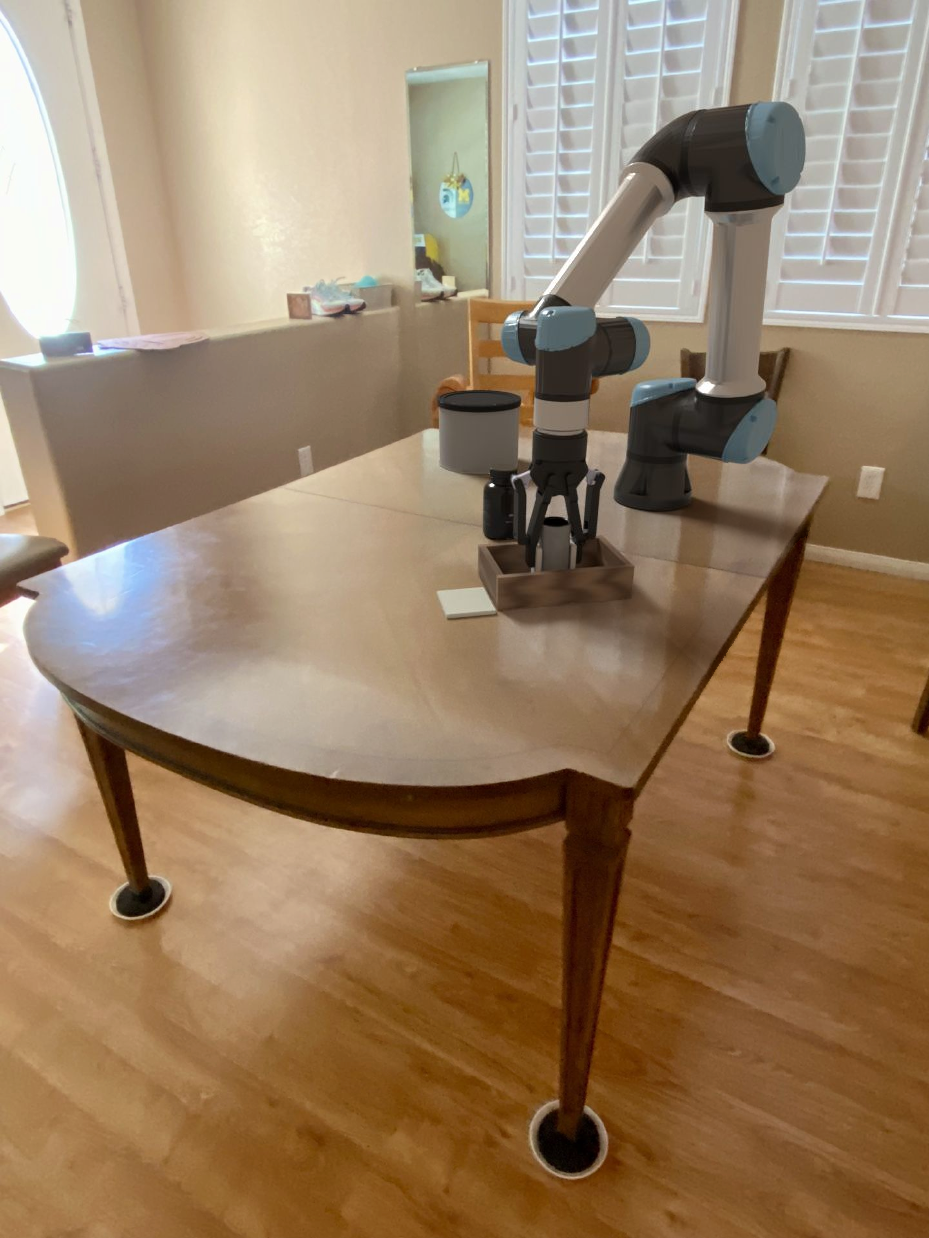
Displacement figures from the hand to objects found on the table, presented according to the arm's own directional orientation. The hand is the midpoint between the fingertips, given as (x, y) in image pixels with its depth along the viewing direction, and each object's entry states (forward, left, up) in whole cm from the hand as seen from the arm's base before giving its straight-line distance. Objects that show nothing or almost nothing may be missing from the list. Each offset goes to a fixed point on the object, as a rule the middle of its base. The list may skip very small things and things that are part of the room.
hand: (552, 584), depth 115 cm
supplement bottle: (+2, -24, 0) cm, 24 cm away
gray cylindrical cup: (0, 0, 0) cm, 0 cm away
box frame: (0, 0, 0) cm, 0 cm away
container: (-4, -71, -1) cm, 71 cm away
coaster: (+14, +3, 0) cm, 14 cm away
